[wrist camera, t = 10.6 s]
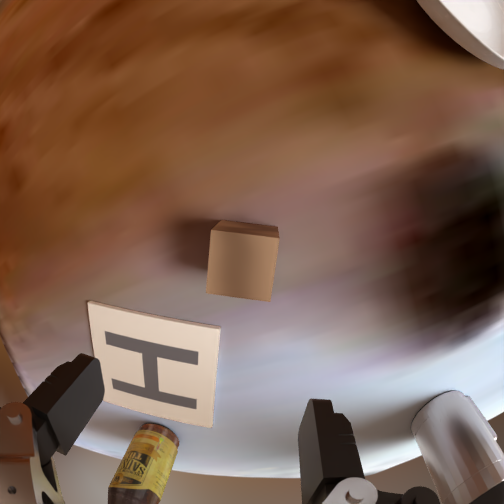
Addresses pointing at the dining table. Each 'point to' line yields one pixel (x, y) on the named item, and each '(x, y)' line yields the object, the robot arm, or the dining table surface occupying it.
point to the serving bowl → (472, 25)
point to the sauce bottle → (144, 467)
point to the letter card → (156, 363)
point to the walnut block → (242, 260)
